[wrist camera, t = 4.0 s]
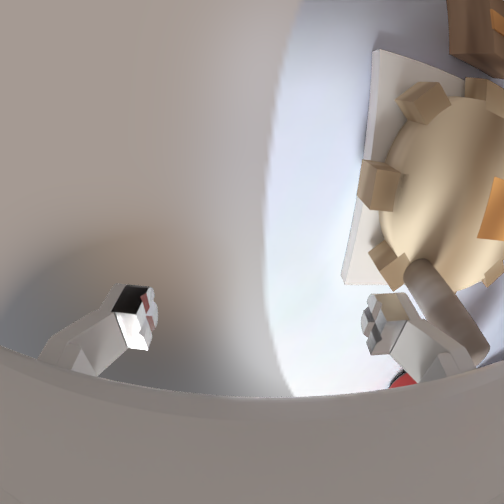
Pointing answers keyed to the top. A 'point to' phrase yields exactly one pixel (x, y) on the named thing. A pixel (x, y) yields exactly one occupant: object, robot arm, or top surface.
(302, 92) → the top surface
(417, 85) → the sprocket
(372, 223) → the base plate
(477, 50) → the link block
